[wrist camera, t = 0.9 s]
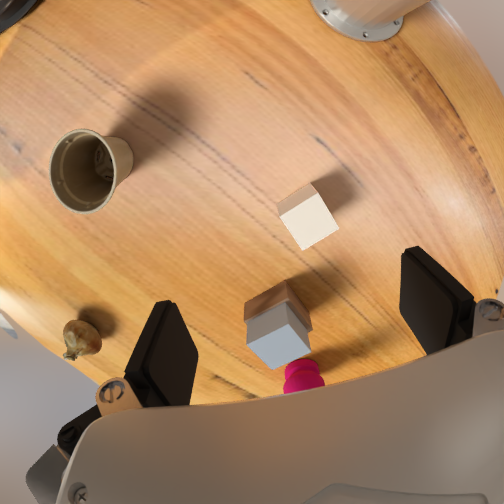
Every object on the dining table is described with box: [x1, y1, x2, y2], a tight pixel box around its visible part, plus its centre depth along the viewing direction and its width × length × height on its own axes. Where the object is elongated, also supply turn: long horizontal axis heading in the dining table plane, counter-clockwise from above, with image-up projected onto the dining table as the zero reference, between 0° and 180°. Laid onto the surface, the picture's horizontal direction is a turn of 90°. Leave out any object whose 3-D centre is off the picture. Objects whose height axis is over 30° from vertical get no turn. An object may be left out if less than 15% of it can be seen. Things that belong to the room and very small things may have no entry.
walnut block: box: [244, 280, 313, 333], centre depth 41 cm, size 7×7×4 cm
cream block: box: [277, 183, 339, 251], centre depth 34 cm, size 5×5×5 cm
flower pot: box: [49, 129, 133, 214], centre depth 29 cm, size 9×9×9 cm
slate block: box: [246, 302, 311, 370], centre depth 37 cm, size 6×6×4 cm
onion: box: [63, 320, 102, 361], centre depth 42 cm, size 8×8×8 cm
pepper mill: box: [283, 359, 325, 394], centre depth 40 cm, size 7×7×20 cm
